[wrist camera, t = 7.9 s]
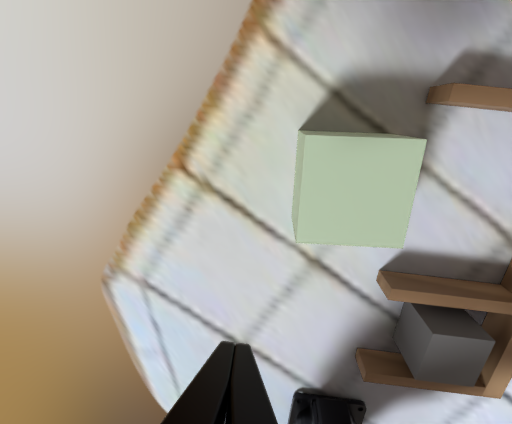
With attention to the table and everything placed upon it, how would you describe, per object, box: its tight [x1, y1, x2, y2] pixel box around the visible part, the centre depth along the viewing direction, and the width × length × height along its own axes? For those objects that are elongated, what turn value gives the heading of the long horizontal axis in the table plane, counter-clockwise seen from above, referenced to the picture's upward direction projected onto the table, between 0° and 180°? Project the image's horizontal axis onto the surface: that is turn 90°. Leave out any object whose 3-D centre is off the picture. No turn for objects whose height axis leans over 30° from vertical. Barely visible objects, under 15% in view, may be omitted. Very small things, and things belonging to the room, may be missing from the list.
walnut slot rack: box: [355, 83, 512, 399], centre depth 19 cm, size 21×10×2 cm, turn 174°
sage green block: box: [292, 130, 427, 249], centre depth 17 cm, size 6×6×4 cm
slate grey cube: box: [393, 302, 496, 387], centre depth 21 cm, size 4×4×4 cm
